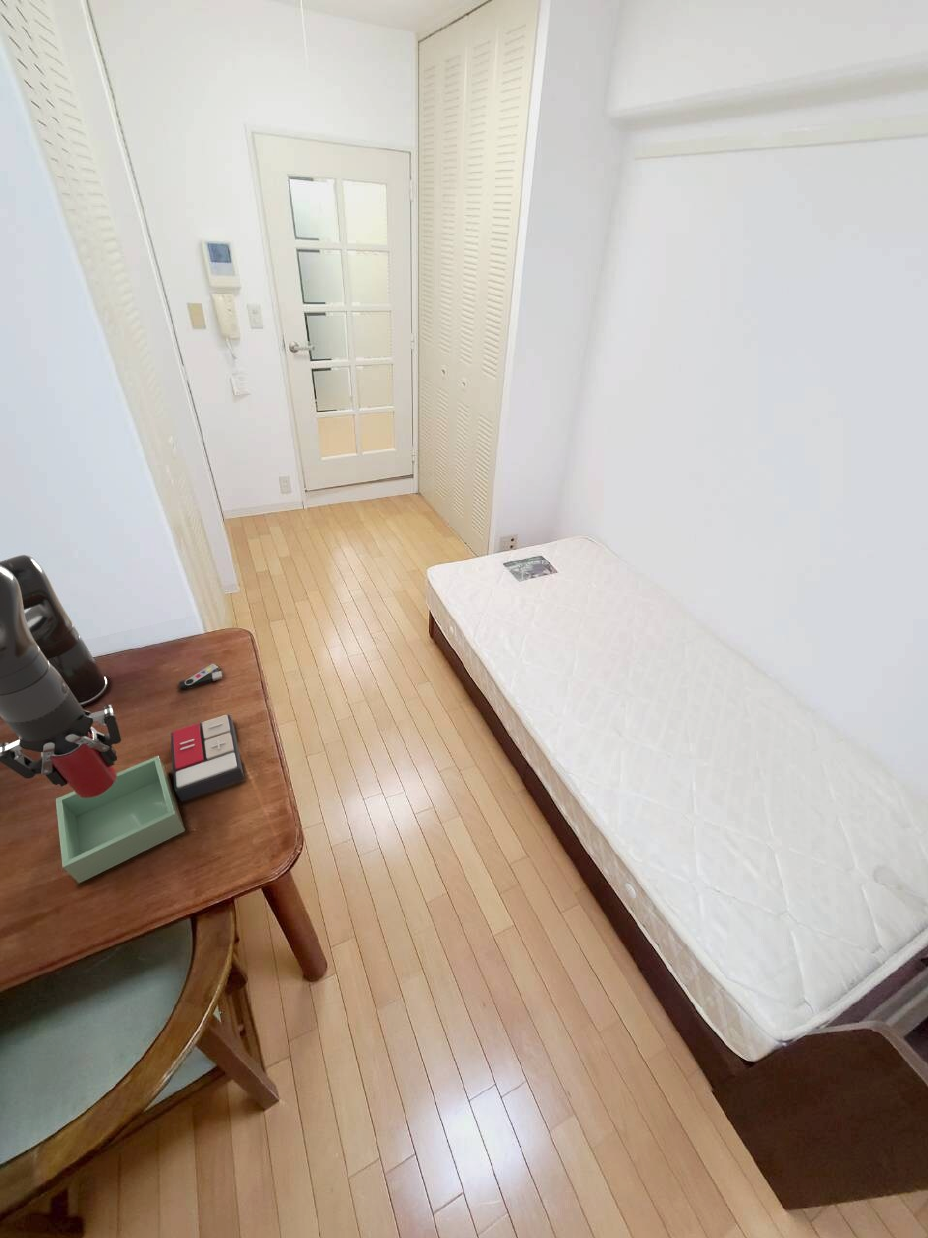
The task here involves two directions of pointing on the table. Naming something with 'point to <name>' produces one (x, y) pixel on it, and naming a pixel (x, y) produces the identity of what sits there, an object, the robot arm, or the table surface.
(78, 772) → the can
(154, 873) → the table surface
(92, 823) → the open box
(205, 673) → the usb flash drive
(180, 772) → the calculator
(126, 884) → the table surface
